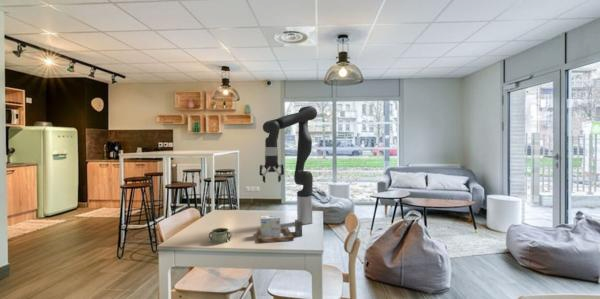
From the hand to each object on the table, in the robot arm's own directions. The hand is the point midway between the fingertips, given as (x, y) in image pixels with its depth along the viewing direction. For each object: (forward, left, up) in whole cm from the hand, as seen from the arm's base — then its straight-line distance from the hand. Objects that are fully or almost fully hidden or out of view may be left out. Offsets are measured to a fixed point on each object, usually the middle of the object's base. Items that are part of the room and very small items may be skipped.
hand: (271, 182), depth 185 cm
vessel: (+29, +17, -28) cm, 44 cm away
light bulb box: (+2, +12, -28) cm, 31 cm away
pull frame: (-3, +15, -28) cm, 32 cm away
